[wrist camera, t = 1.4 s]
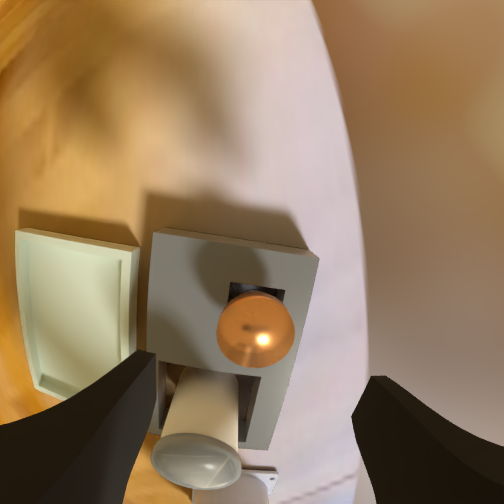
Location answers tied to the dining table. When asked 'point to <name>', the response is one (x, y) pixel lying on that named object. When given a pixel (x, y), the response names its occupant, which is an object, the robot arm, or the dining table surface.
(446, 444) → the robot arm
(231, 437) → the cylinder
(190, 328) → the housing
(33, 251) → the tray
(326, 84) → the dining table surface
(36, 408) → the dining table surface
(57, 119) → the dining table surface
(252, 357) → the orange round piece
